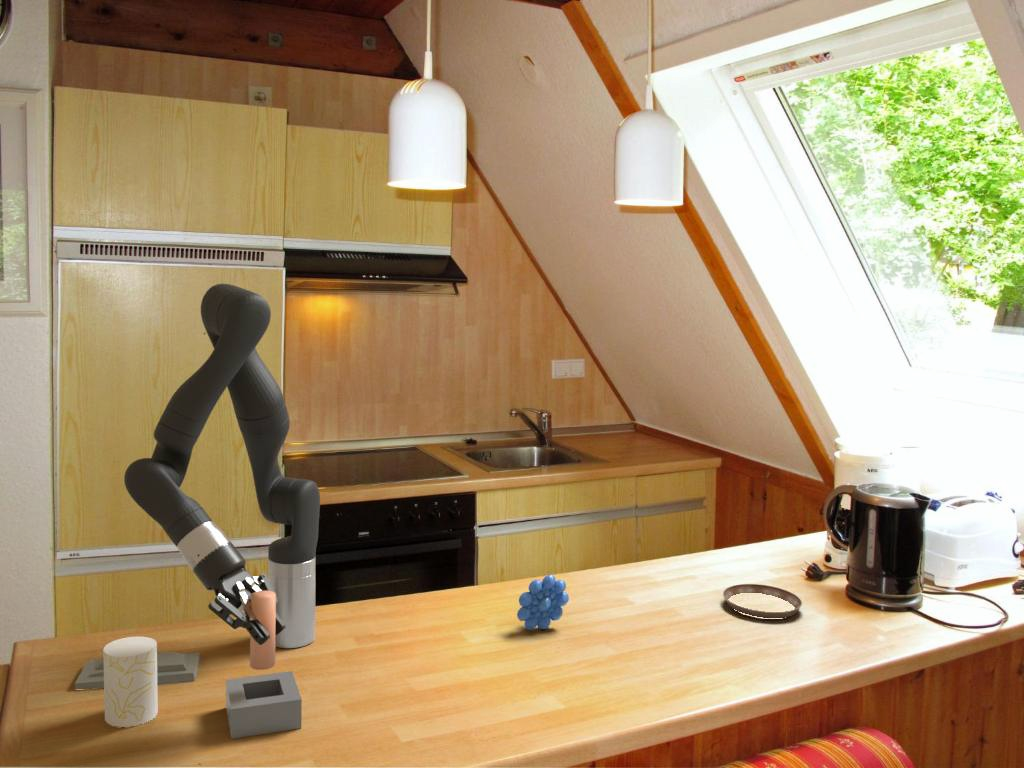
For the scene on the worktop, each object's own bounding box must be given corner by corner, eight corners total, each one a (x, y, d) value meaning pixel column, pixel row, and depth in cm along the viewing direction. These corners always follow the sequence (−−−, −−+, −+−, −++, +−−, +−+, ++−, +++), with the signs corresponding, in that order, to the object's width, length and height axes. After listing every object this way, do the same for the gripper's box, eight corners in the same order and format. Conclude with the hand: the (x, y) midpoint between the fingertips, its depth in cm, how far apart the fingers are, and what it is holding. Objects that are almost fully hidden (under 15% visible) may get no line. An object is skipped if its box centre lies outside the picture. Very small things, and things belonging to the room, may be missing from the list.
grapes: (559, 619, 199) (561, 566, 197) (571, 631, 192) (574, 576, 191) (509, 624, 195) (511, 571, 193) (520, 637, 188) (522, 581, 187)
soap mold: (87, 669, 168) (86, 651, 168) (200, 661, 173) (200, 644, 173) (74, 694, 158) (74, 675, 158) (195, 685, 163) (194, 666, 163)
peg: (249, 661, 151) (249, 591, 150) (273, 658, 153) (274, 589, 151) (251, 671, 147) (251, 600, 146) (276, 668, 149) (277, 597, 148)
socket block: (226, 707, 154) (226, 679, 154) (291, 698, 158) (292, 671, 158) (231, 738, 144) (231, 709, 144) (301, 728, 148) (301, 699, 148)
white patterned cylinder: (104, 731, 145) (102, 659, 144) (105, 708, 153) (103, 640, 151) (158, 722, 149) (157, 652, 147) (156, 700, 156) (155, 633, 154)
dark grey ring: (790, 630, 198) (791, 617, 197) (712, 612, 207) (712, 599, 206) (809, 606, 213) (810, 593, 213) (735, 590, 222) (735, 578, 221)
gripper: (197, 553, 143) (262, 639, 141) (249, 531, 157) (310, 608, 154) (169, 581, 146) (233, 666, 143) (223, 556, 159) (283, 634, 157)
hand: (273, 635), depth 149 cm, fingers closed on peg, 4 cm apart
